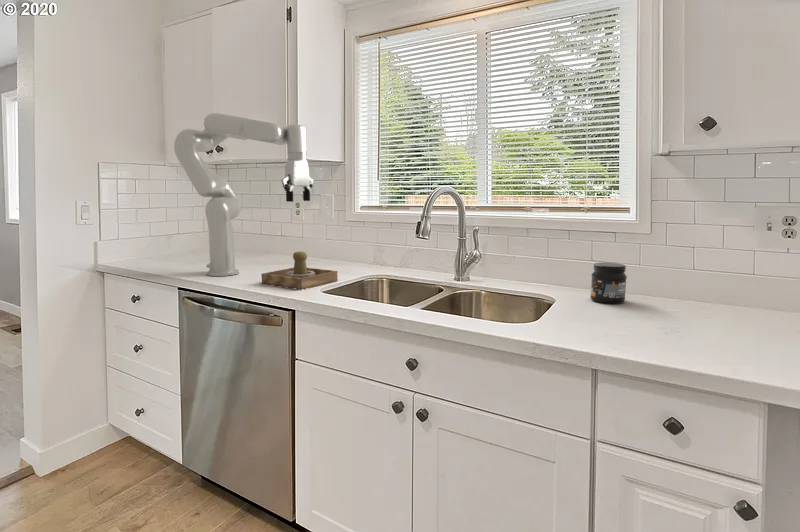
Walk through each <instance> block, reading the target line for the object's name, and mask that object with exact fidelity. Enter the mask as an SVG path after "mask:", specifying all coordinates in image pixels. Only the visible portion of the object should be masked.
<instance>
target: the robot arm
mask: <svg viewBox="0 0 800 532" xmlns="http://www.w3.org/2000/svg"><path fill="white" fill-rule="evenodd" d="M203 120H204V121H203V126H204V129H202V130H200V129H192V128H186V129H183V130H181V131H180V132H179V133H178V134H177V135H176V137H175V139H174V143H173V151H174V154H175V156H176V158H177V161H178V162H179V163H180V165H181V166H182V168H183V170H184V171H185V172H184V173H186V176H187V177H188V179H189V181H190V182H191V184H192V186H193V188H194V189H195V191H196V192H197V193H198V195H199V196H200V197H204V198H211V199H209V200H208V201H207V203H206V205H205V209H204V210H205V217H206V222H207V230H208V240H209V241H208V242H209V243H208V245H209V263H208V264H206V265H205V266H206V268H208V269H209V270H207V272H206V275H207V276H209V277H210V276H211V277H226V276H227V277H229V275H230V276H235V274H236V275H238V274H239V273H240V270H239V269H236V263H235V262H236V261H235V260H236V259H235V245H234V244H235V243H234V242H235V241H234V240H235V239H234V238H235V237H234V228H233V223H232V220H233V219H236V218H237V217H238V216H239V215H240V213H241V208H242V207H241V204H240V201H239V200H238V198H237V196H236V195H235V192H234V191H233V189H232V187H231V186H230V184H229V182H228V180H226V178H224V177H223V176H222V175H220V174H217V173H212V172H211V171H210V169H209V167H208V165H207V164H206V162H205V160H204V159H203V158H202V157H201V155H200V154H199V153H206V152H210V151H212V150H213V149H215V148H216V147H217V146H219V145H220V144H221V143H223V142H225V141H226V140H227V139H228V138H229V139H230V138H231V139H237V140H243V141H246V140H251V141H257V142H258V141H259V142H262V143H264V142H265V143H270V144H274V145H279V146H283V145H286V148H287V149H286V151H287V154H286V156H287V160H285V166H284V177H283V178H282V179H281V180H280V181H281V184H282V188H283V189H284V191H285V197H286V202H287V203H289V202H294V191H293V189H294V187H302V189H303V191H302V198H303V199H302V200H303V202H310V201H311V191H312V188H313V185H314V179H313V178H311V177H310V168H309V162H308V153H307V152H308V150H307V148H308V146H307V128H306V126H305V125H303V124H290V125H287V126H286V125H282V124H278V123H274V122H269V121H262V120H256V119H251V118H247V117H242V116H236V115H231V114H223V113H218V112H213V113H212V112H211V113H209V114H207V115H206V116H205V117H204V119H203Z"/></svg>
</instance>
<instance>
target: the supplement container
mask: <svg viewBox="0 0 800 532" xmlns="http://www.w3.org/2000/svg"><path fill="white" fill-rule="evenodd" d="M626 268H627V266H626V265H625V264H623V263H618V262H595V263H594V264H593V272H592V273H591V286H590V300H591V301H593V302H595V303H599V304H605V305H618V304H619V305H620V304H623V303H624V302H625V301H626V286H627V279H628V276H627V274H626V273H625V272H626V271H627V269H626Z"/></svg>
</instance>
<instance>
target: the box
mask: <svg viewBox="0 0 800 532" xmlns="http://www.w3.org/2000/svg"><path fill="white" fill-rule="evenodd" d="M293 272H294V267H289V268H283V269H278V270H274V271H269V272H263V273H261V285H264V284H267V285H266V286H271V285H274V286H273V287H278V286H281V287H280V288H285V287H288V288H287V289H292V288H296V289H295V290H298V289H304V290H307V289H306V288H308V289H311V288H316V287H319V286H320V287H321V286H324V285H327V284H332V283H335V282H336V283H337V282H338V270H333V269H331V270H330V269H322V268H316V267H315V268H313V267H307V273H308V274H303V275H294V274H293Z"/></svg>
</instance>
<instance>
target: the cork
mask: <svg viewBox="0 0 800 532" xmlns="http://www.w3.org/2000/svg"><path fill="white" fill-rule="evenodd" d="M292 258H293V260H294V264H293V268H294V272H293V274H294V275H303V274H308V273H307V268H308V266H307V262H306V260H307V258H308V255H307V252H305V251H295V252H294V253H293V254H292Z"/></svg>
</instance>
